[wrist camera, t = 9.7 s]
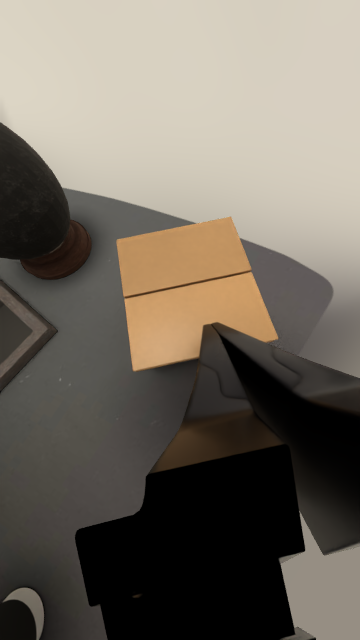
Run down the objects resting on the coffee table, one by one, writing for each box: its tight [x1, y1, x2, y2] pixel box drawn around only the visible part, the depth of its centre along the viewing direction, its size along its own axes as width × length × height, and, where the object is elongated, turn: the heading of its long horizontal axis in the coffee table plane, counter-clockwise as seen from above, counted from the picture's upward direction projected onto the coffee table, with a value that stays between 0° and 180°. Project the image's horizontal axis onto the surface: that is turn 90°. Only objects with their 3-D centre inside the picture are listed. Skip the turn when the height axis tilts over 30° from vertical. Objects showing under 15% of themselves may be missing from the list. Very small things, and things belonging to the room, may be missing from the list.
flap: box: [125, 272, 278, 371], centre depth 13 cm, size 6×12×1 cm, turn 102°
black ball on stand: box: [0, 123, 91, 280], centre depth 18 cm, size 13×13×15 cm
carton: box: [117, 217, 274, 372], centre depth 18 cm, size 13×12×8 cm
